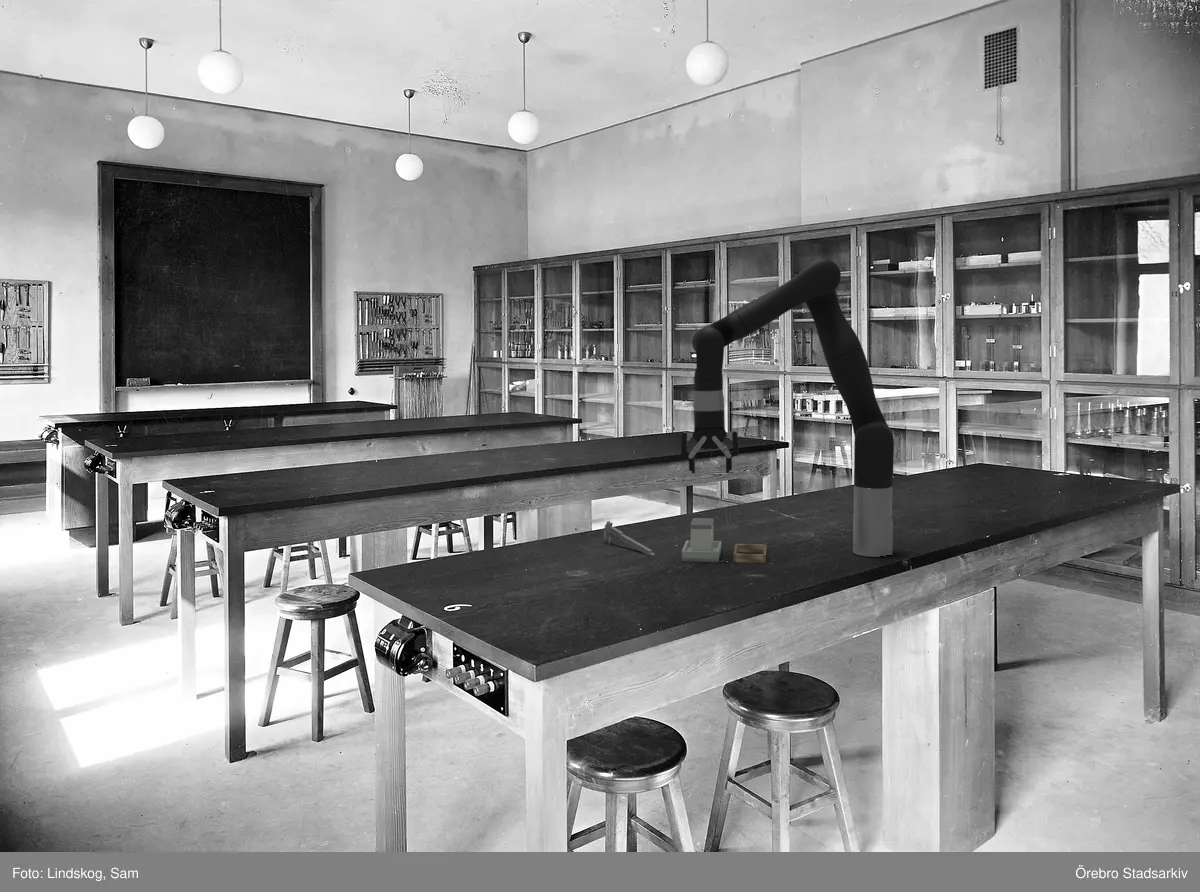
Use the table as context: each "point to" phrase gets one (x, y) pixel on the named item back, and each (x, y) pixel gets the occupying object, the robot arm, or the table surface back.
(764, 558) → the holder
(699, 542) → the gray rectangular box
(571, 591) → the table surface
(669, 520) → the table surface
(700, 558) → the tray
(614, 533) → the caliper
